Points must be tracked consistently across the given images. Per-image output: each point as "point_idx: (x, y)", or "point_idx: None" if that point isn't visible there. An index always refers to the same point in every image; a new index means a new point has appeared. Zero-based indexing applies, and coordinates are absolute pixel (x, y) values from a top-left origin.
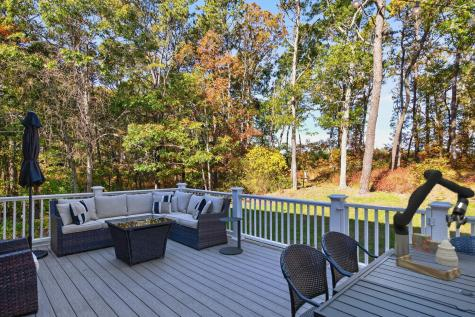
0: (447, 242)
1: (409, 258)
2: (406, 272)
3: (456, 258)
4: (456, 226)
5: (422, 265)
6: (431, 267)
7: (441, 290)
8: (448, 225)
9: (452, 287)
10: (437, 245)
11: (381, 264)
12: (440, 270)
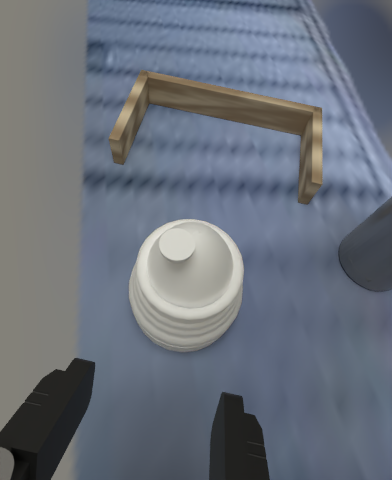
0: (179, 225)
1: (306, 177)
2: None
3: (133, 267)
4: (87, 370)
5: (222, 88)
6: (193, 85)
7: (146, 39)
8: (228, 400)
9: (127, 64)
10: None
11: (343, 114)
12: (163, 76)
